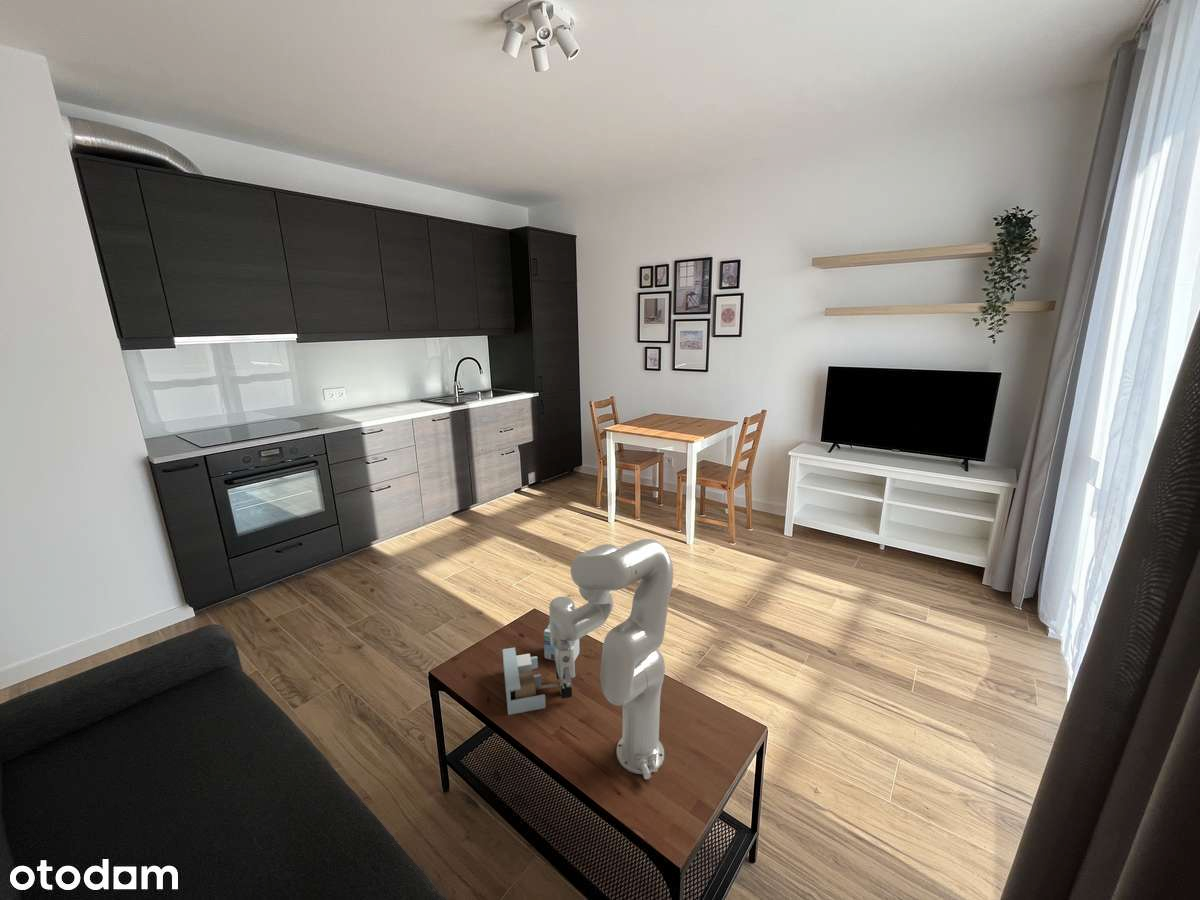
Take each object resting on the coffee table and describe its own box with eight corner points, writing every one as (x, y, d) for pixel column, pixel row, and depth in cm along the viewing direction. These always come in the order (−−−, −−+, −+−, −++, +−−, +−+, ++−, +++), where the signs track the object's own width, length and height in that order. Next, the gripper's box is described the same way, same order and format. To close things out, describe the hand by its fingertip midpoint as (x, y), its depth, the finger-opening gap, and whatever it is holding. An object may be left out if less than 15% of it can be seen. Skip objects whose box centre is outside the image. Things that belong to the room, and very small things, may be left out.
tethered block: (570, 698, 151) (569, 678, 150) (516, 708, 148) (515, 688, 146) (566, 685, 157) (566, 666, 155) (514, 695, 153) (513, 676, 151)
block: (532, 683, 158) (531, 664, 156) (513, 686, 157) (512, 667, 155) (530, 671, 163) (529, 653, 161) (512, 675, 162) (511, 656, 160)
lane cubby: (545, 707, 148) (544, 683, 146) (508, 715, 145) (506, 690, 143) (537, 666, 166) (536, 643, 163) (503, 672, 163) (502, 649, 161)
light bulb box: (544, 658, 169) (543, 631, 167) (551, 646, 176) (550, 619, 173) (573, 664, 166) (572, 636, 164) (580, 652, 173) (579, 625, 170)
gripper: (581, 654, 142) (581, 705, 146) (569, 619, 158) (570, 666, 162) (555, 658, 140) (556, 710, 144) (546, 623, 156) (547, 670, 161)
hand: (564, 687), depth 153 cm, fingers open, 7 cm apart
